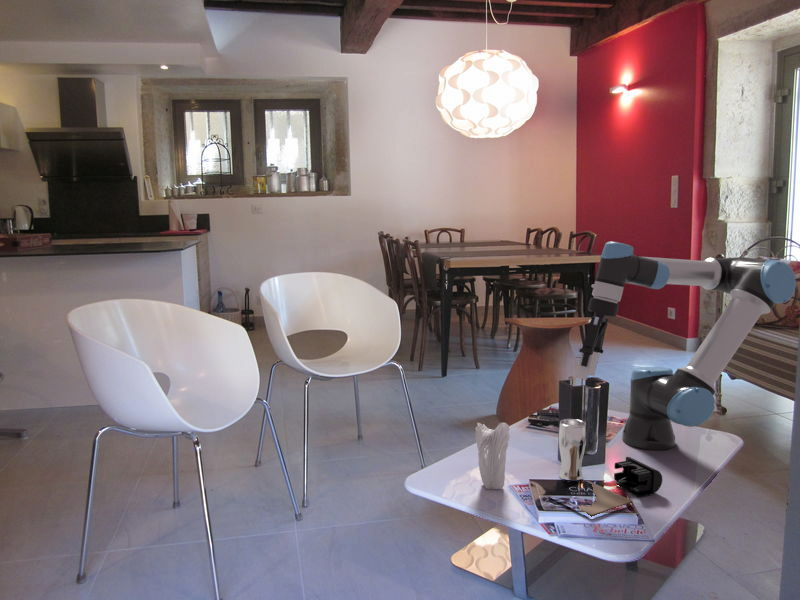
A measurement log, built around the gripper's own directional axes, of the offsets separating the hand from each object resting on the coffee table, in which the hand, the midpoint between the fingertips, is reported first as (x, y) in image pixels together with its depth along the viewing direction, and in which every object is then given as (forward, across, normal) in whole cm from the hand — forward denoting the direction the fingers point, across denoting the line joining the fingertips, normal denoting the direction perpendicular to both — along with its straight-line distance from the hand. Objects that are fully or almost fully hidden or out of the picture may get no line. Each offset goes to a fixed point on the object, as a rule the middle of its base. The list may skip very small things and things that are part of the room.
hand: (585, 376), depth 180 cm
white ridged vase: (+32, +18, -13) cm, 39 cm away
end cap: (+24, +3, +20) cm, 31 cm away
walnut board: (+27, +16, +10) cm, 33 cm away
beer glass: (+27, +3, +3) cm, 27 cm away
